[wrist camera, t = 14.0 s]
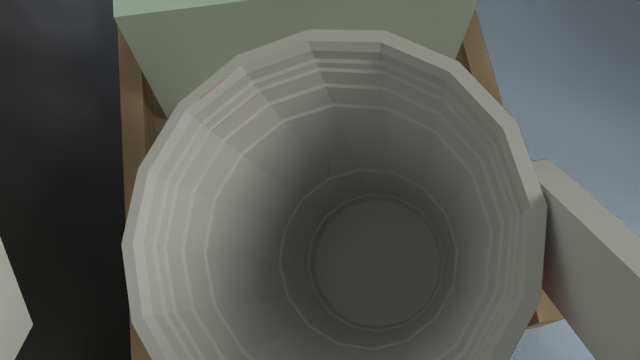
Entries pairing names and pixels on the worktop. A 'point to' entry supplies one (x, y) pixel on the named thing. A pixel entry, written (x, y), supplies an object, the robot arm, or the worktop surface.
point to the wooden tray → (149, 119)
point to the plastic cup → (336, 211)
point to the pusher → (265, 31)
